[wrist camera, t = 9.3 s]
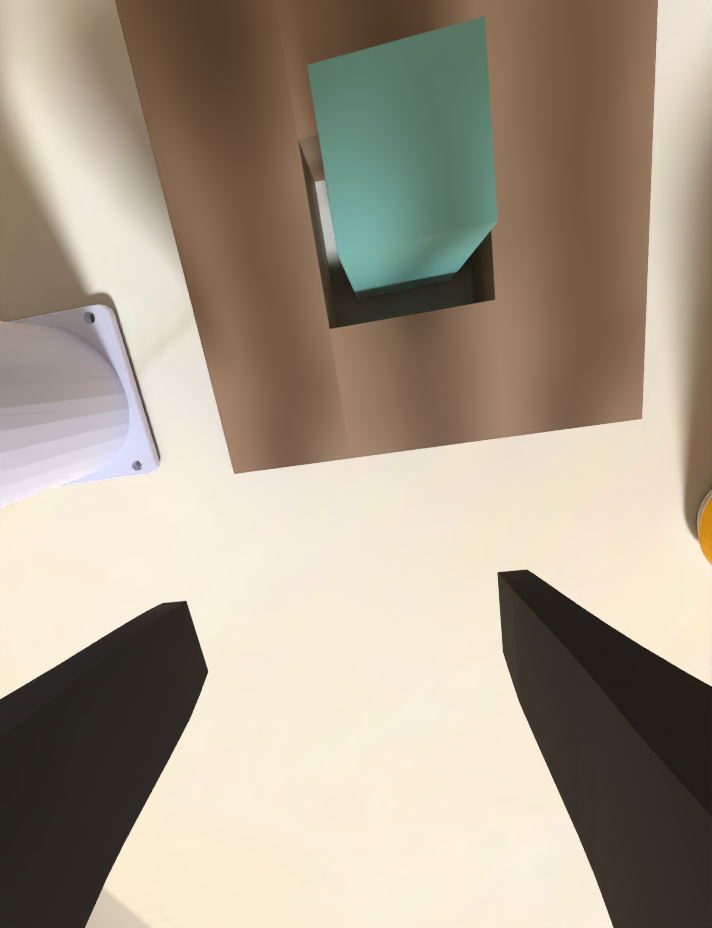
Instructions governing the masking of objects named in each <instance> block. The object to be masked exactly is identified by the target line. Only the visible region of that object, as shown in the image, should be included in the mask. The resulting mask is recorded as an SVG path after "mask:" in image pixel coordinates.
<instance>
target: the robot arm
mask: <svg viewBox="0 0 712 928" xmlns="http://www.w3.org/2000/svg"><path fill="white" fill-rule="evenodd" d="M92 313H93V314H94V316H95V321H94V323H92V321H91V317H90V316H91V314H92ZM137 461H139V462H140V463H141V465H142V468H139V467H138V465H137ZM159 466H160V463H159V458H158V455H157V452H156V449H155V445H154V442H153V439H152V435H151V432H150V429H149V425H148V422H147V419H146V416H145V412H144V409H143V406H142V402H141V399H140V396H139V392H138V389H137V386H136V382H135V379H134V376H133V373H132V369H131V366H130V363H129V359H128V356H127V353H126V349H125V346H124V343H123V339H122V336H121V333H120V330H119V326H118V323H117V320H116V316H115V314H114V312H113V310H112V309H111V308H110V307H108V306H106V305H102V304H94V305H89V306H84V307H79V308H74V309H69V310H64V311H59V312H54V313H49V314H44V315H39V316H34V317H29V318H24V319H19V320H14V321H9V322H4V321H0V508H3V507H5V506H8V505H11V504H13V503H16V502H19V501H21V500H24V499H26V498H29V497H32V496H34V495H37V494H39V493H42V492H45V491H47V490H50V489H53V488H55V487H58V486H65V485H72V484H79V483H86V482H93V481H101V480H108V479H115V478H122V477H129V476H136V475H144V474H150V473H153V472H155V471H157V470H158V469H159ZM498 586H499V601H500V615H501V630H502V644H503V653H504V656H505V660H506V663H507V666H508V669H509V672H510V675H511V679H512V682H513V685H514V688H515V691H516V694H517V697H518V700H519V702H520V705H521V707H522V709H523V712H524V714H525V716H526V719H527V721H528V723H529V725H530V728H531V730H532V732H533V735H534V737H535V739H536V741H537V744H538V746H539V748H540V750H541V753H542V755H543V757H544V759H545V762H546V764H547V766H548V768H549V771H550V773H551V775H552V777H553V780H554V782H555V784H556V786H557V789H558V791H559V793H560V796H561V798H562V800H563V802H564V805H565V807H566V809H567V811H568V814H569V816H570V818H571V820H572V823H573V825H574V827H575V829H576V832H577V834H578V836H579V838H580V841H581V843H582V846H583V848H584V851H585V853H586V856H587V858H588V860H589V863H590V865H591V868H592V870H593V873H594V875H595V878H596V880H597V883H598V886H599V889H600V891H601V894H602V897H603V900H604V902H605V905H606V908H607V911H608V913H609V916H610V919H611V922H612V924H613V927H614V928H712V687H711V686H710V685H708V684H706V683H704V682H702V681H701V680H699V679H697V678H695V677H693V676H692V675H690V674H688V673H686V672H685V671H683V670H681V669H680V668H678V667H676V666H675V665H673V664H671V663H670V662H668V661H666V660H664V659H663V658H661V657H659V656H658V655H656V654H654V653H653V652H651V651H649V650H648V649H646V648H644V647H643V646H641V645H639V644H638V643H636V642H635V641H633V640H631V639H630V638H628V637H627V636H625V635H623V634H622V633H620V632H619V631H617V630H616V629H614V628H612V627H611V626H609V625H608V624H606V623H605V622H603V621H602V620H600V619H599V618H597V617H596V616H594V615H593V614H591V613H590V612H588V611H587V610H585V609H584V608H582V607H581V606H579V605H578V604H576V603H575V602H574V601H572V600H571V599H569V598H568V597H566V596H565V595H563V594H562V593H560V592H559V591H558V590H556V589H555V588H553V587H552V586H550V585H549V584H548V583H546V582H545V581H543V580H542V579H540V578H539V577H538V576H536V575H535V574H533V573H532V572H530V571H528V570H518V571H507V572H498ZM207 674H208V669H207V666H206V663H205V659H204V656H203V653H202V650H201V647H200V643H199V640H198V637H197V634H196V631H195V627H194V624H193V621H192V618H191V615H190V611H189V608H188V605H187V602H186V601H180V602H170V603H162V604H160V605H158V606H156V607H154V608H152V609H150V610H148V611H146V612H144V613H143V614H141V615H139V616H137V617H136V618H134V619H132V620H131V621H129V622H127V623H126V624H124V625H122V626H121V627H119V628H117V629H116V630H114V631H112V632H111V633H109V634H108V635H106V636H104V637H103V638H101V639H99V640H98V641H96V642H95V643H93V644H91V645H90V646H88V647H87V648H85V649H83V650H82V651H80V652H78V653H77V654H75V655H74V656H72V657H70V658H69V659H67V660H66V661H64V662H62V663H61V664H59V665H57V666H56V667H54V668H52V669H51V670H49V671H47V672H46V673H44V674H42V675H41V676H39V677H37V678H36V679H34V680H32V681H31V682H29V683H27V684H25V685H24V686H22V687H20V688H19V689H17V690H15V691H14V692H12V693H10V694H9V695H7V696H5V697H3V698H2V699H0V928H85V926H86V924H87V922H88V919H89V917H90V915H91V913H92V910H93V908H94V906H95V904H96V901H97V899H98V897H99V895H100V892H101V890H102V888H103V886H104V884H105V881H106V879H107V877H108V875H109V873H110V871H111V869H112V867H113V865H114V863H115V861H116V859H117V857H118V855H119V853H120V851H121V849H122V847H123V844H124V842H125V841H126V839H127V837H128V835H129V833H130V831H131V829H132V827H133V826H134V824H135V822H136V820H137V818H138V816H139V814H140V812H141V811H142V809H143V807H144V805H145V803H146V801H147V799H148V797H149V796H150V794H151V792H152V790H153V788H154V786H155V784H156V783H157V781H158V779H159V777H160V775H161V773H162V771H163V769H164V768H165V766H166V764H167V762H168V760H169V758H170V756H171V754H172V752H173V751H174V749H175V747H176V745H177V743H178V741H179V739H180V737H181V735H182V733H183V731H184V729H185V727H186V725H187V723H188V722H189V720H190V717H191V715H192V713H193V710H194V708H195V705H196V703H197V700H198V698H199V695H200V693H201V690H202V687H203V685H204V682H205V679H206V676H207Z"/></svg>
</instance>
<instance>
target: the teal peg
mask: <svg viewBox="0 0 712 928" xmlns="http://www.w3.org/2000/svg"><path fill="white" fill-rule="evenodd" d="M307 67H308V74H309V80H310V86H311V92H312V98H313V105H314V111H315V117H316V123H317V129H318V135H319V142H320V148H321V154H322V160H323V166H324V172H325V179H326V185H327V191H328V197H329V203H330V209H331V216H332V222H333V228H334V234H335V240H336V246H337V253H338V257H339V259H340V261H341V263H342V265H343V268H344V270H345V272H346V274H347V276H348V279H349V281H350V283H351V285H352V288H353V290H354V292H355V294H356V296H357V299H359V298H364V297H369V296H375V295H380V294H385V293H390V292H395V291H400V290H405V289H411V288H416V287H421V286H426V285H431V284H436V283H441V282H446V281H450V280H451V279H452V278H453V276H454V275H455V274H456V273H457V271H458V270H459V269H460V268H461V267H462V265H463V264H464V263H465V262H466V260H467V259H468V258H469V257H470V255H471V254H472V253H473V252H474V250H475V249H476V248H477V247H478V245H479V244H480V243H481V242H482V240H483V239H484V238H485V237H486V235H487V234H488V233H489V232H490V231H491V229H492V228H493V227H494V226H495V224H496V223H497V222H498V220H497V204H496V187H495V171H494V155H493V139H492V123H491V106H490V90H489V74H488V58H487V42H486V25H485V16H484V17H480V18H477V19H473V20H469V21H466V22H462V23H458V24H455V25H451V26H448V27H444V28H440V29H437V30H433V31H429V32H426V33H422V34H418V35H415V36H411V37H407V38H404V39H400V40H396V41H393V42H389V43H386V44H382V45H378V46H375V47H371V48H367V49H364V50H360V51H356V52H353V53H349V54H345V55H342V56H338V57H334V58H331V59H327V60H324V61H320V62H316V63H313V64H309V65H307Z"/></svg>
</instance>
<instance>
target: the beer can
mask: <svg viewBox="0 0 712 928" xmlns="http://www.w3.org/2000/svg"><path fill="white" fill-rule="evenodd" d="M697 531H698V537H699V543H700V547H701V550H702V552H703V554H704V556H705V557H706V559H707V560H708V561H709V563H710V564H711V565H712V488H711V489H710V491H709V492H708V493H707V495H706V496H705V498H704V499H703V501H702V503H701V505H700V508H699V511H698V515H697Z"/></svg>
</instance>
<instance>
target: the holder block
mask: <svg viewBox="0 0 712 928" xmlns="http://www.w3.org/2000/svg"><path fill="white" fill-rule="evenodd" d="M115 2H116V6H117V10H118V14H119V18H120V22H121V26H122V30H123V34H124V38H125V42H126V46H127V50H128V54H129V58H130V62H131V66H132V70H133V74H134V78H135V82H136V86H137V90H138V94H139V98H140V102H141V106H142V109H143V113H144V117H145V121H146V125H147V129H148V133H149V137H150V141H151V145H152V149H153V153H154V157H155V161H156V165H157V169H158V173H159V177H160V181H161V185H162V189H163V193H164V197H165V201H166V205H167V209H168V213H169V217H170V221H171V225H172V229H173V233H174V237H175V241H176V245H177V248H178V252H179V256H180V260H181V264H182V268H183V272H184V276H185V280H186V284H187V288H188V292H189V296H190V300H191V304H192V308H193V312H194V316H195V320H196V324H197V328H198V332H199V336H200V340H201V344H202V348H203V352H204V356H205V360H206V364H207V368H208V372H209V376H210V380H211V384H212V387H213V391H214V395H215V399H216V403H217V407H218V411H219V415H220V419H221V423H222V427H223V431H224V435H225V439H226V443H227V447H228V451H229V455H230V459H231V463H232V467H233V471H234V474H237V473H244V472H252V471H259V470H267V469H274V468H281V467H289V466H296V465H304V464H311V463H318V462H326V461H333V460H341V459H348V458H355V457H363V456H370V455H378V454H385V453H392V452H400V451H407V450H415V449H422V448H429V447H437V446H444V445H452V444H459V443H466V442H474V441H481V440H489V439H496V438H503V437H511V436H518V435H526V434H533V433H540V432H548V431H555V430H563V429H570V428H577V427H585V426H592V425H600V424H607V423H614V422H622V421H629V420H637V419H642V404H643V377H644V351H645V325H646V298H647V272H648V245H649V219H650V193H651V166H652V140H653V114H654V87H655V61H656V34H657V8H658V0H115ZM484 16H485V25H486V42H487V58H488V74H489V90H490V106H491V123H492V139H493V155H494V171H495V187H496V204H497V220H498V222H497V223H496V224H495V226H494V227H493V228H492V229H491V231H490V232H489V233H488V234H487V235H486V237H485V238H484V239H483V240H482V242H481V243H480V244H479V245H478V247H477V248H476V249H475V250H474V252H473V253H472V268H473V282H474V296H475V303H474V304H469V305H463V306H457V307H452V308H446V309H440V310H435V311H429V312H423V313H418V314H412V315H406V316H401V317H395V318H389V319H384V320H378V321H373V322H367V323H361V324H356V325H350V326H344V327H339V328H338V324H337V318H336V312H335V306H334V299H333V293H332V287H331V281H330V274H329V268H328V262H327V256H326V250H325V243H324V237H323V231H322V225H321V219H320V212H319V206H318V200H317V194H316V187H315V181H320V180H324V179H325V172H324V166H323V160H322V154H321V148H320V142H319V135H318V129H317V123H316V117H315V111H314V105H313V98H312V92H311V86H310V80H309V74H308V67H307V65H309V64H313V63H316V62H320V61H324V60H327V59H331V58H334V57H338V56H342V55H345V54H349V53H353V52H356V51H360V50H364V49H367V48H371V47H375V46H378V45H382V44H386V43H389V42H393V41H396V40H400V39H404V38H407V37H411V36H415V35H418V34H422V33H426V32H429V31H433V30H437V29H440V28H444V27H448V26H451V25H455V24H458V23H462V22H466V21H469V20H473V19H477V18H480V17H484Z"/></svg>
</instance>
